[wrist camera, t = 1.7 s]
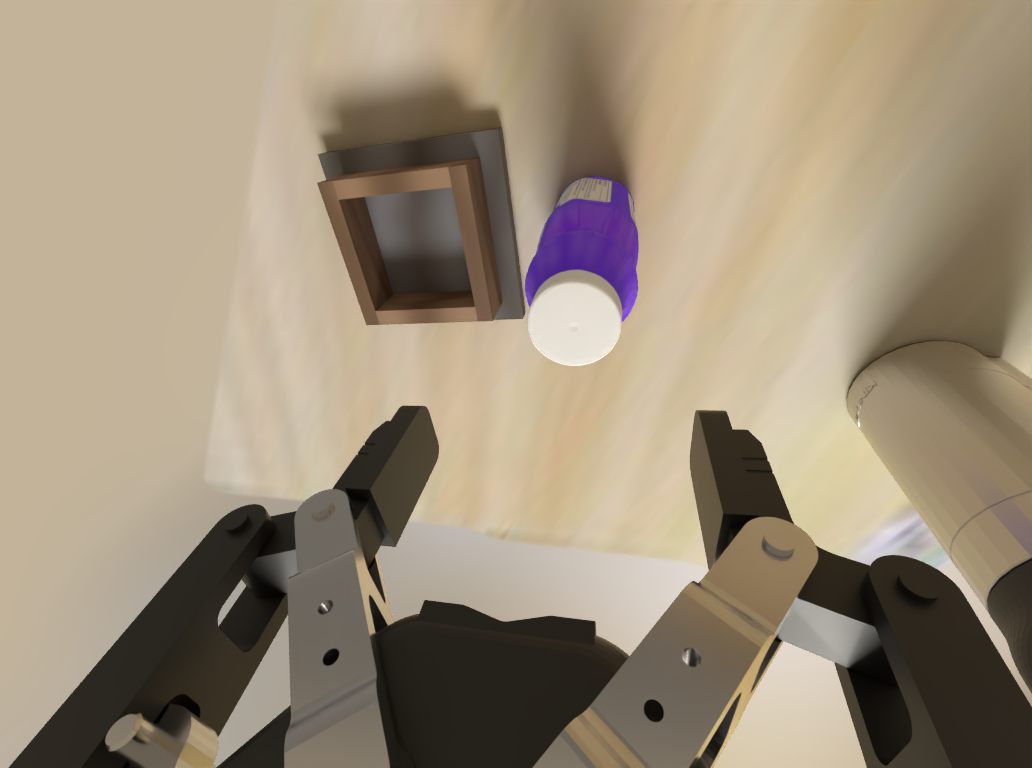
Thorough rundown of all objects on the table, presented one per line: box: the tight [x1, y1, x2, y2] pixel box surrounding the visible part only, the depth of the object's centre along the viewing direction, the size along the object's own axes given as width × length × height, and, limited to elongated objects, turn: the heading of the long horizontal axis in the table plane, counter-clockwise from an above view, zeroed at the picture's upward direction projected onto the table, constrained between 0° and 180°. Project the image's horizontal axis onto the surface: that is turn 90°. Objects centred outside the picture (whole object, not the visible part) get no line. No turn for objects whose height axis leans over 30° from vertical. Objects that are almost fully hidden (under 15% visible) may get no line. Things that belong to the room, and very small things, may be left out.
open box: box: [317, 128, 525, 325], centre depth 34 cm, size 14×14×5 cm
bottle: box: [525, 176, 638, 366], centre depth 25 cm, size 7×6×17 cm
